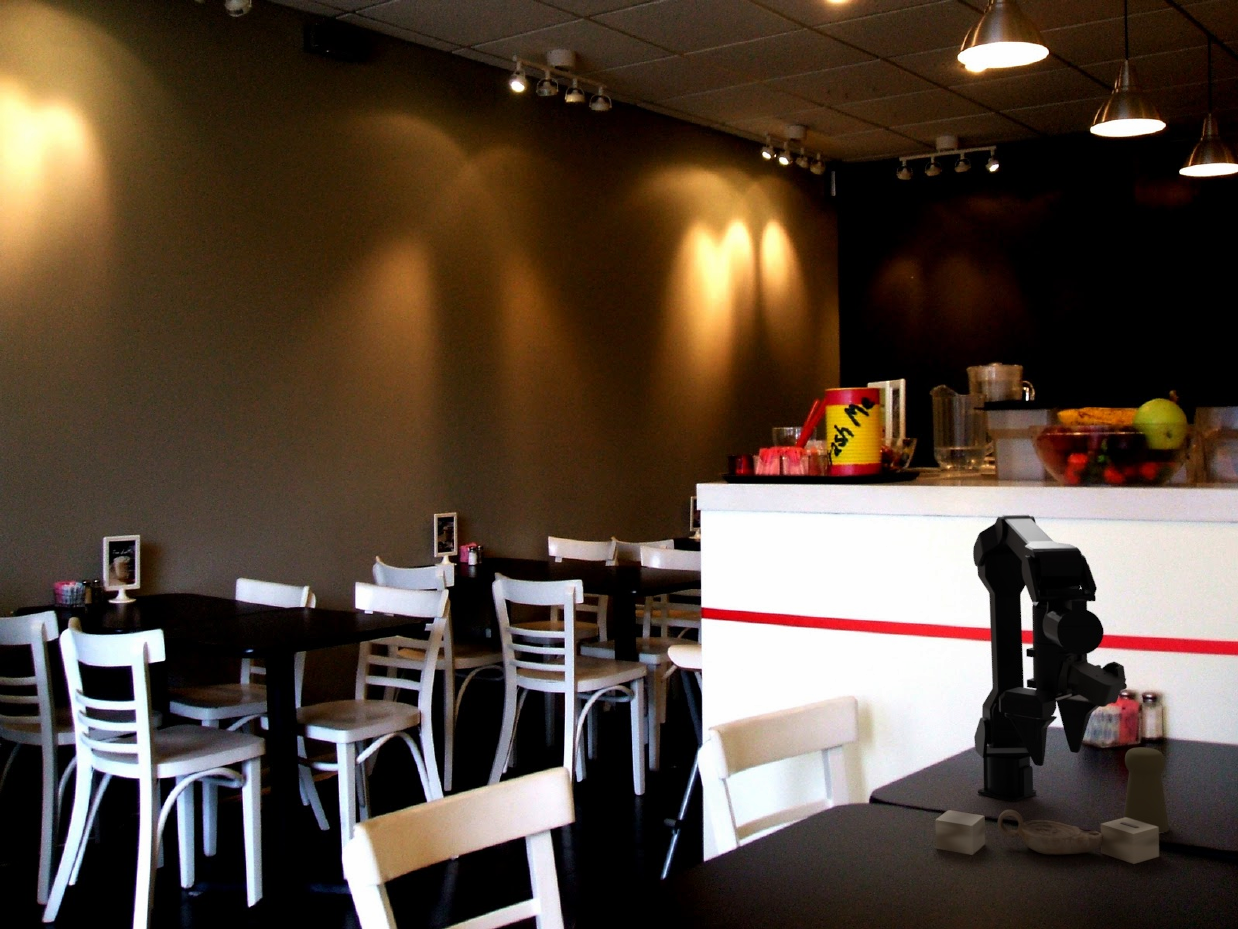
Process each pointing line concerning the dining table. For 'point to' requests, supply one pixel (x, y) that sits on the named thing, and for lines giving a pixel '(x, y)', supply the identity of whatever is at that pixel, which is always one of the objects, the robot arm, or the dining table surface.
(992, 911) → the dining table surface
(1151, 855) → the beech block right
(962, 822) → the beech block left
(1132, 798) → the pepper shaker
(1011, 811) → the oil lamp
